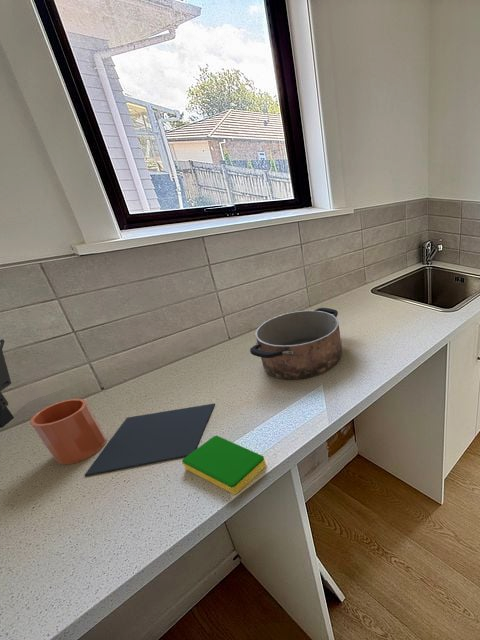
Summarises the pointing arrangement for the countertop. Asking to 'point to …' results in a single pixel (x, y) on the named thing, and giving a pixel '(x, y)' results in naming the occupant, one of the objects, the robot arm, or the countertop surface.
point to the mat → (153, 439)
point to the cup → (69, 431)
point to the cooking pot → (299, 343)
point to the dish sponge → (224, 464)
